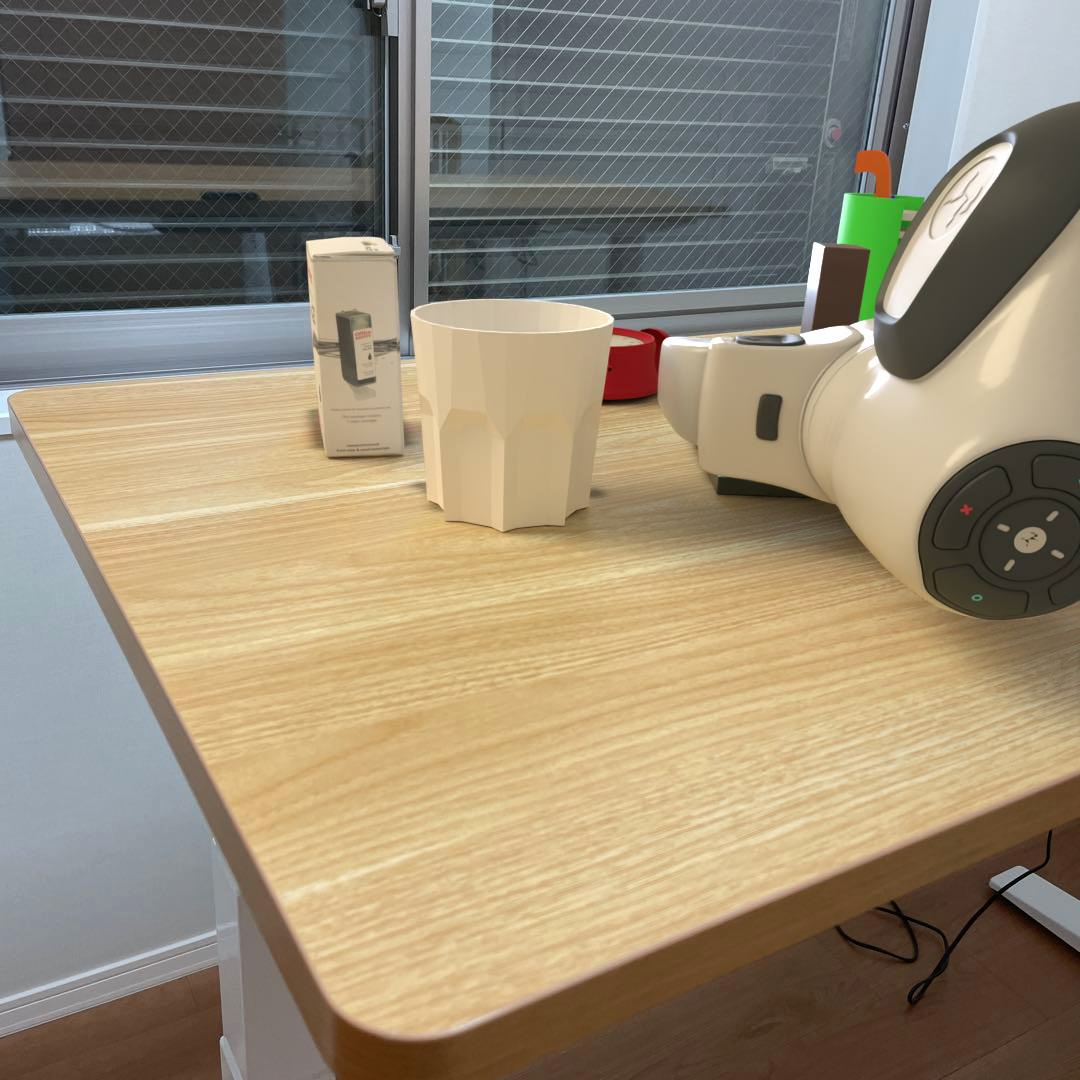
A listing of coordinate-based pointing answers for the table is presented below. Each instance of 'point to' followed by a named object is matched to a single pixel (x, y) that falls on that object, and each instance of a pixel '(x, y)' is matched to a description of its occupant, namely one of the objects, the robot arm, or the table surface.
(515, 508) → the cup
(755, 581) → the table surface
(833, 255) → the eraser
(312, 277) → the ink box
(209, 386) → the table surface
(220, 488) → the table surface
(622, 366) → the alarm clock
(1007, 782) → the table surface
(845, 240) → the green hooked bin
